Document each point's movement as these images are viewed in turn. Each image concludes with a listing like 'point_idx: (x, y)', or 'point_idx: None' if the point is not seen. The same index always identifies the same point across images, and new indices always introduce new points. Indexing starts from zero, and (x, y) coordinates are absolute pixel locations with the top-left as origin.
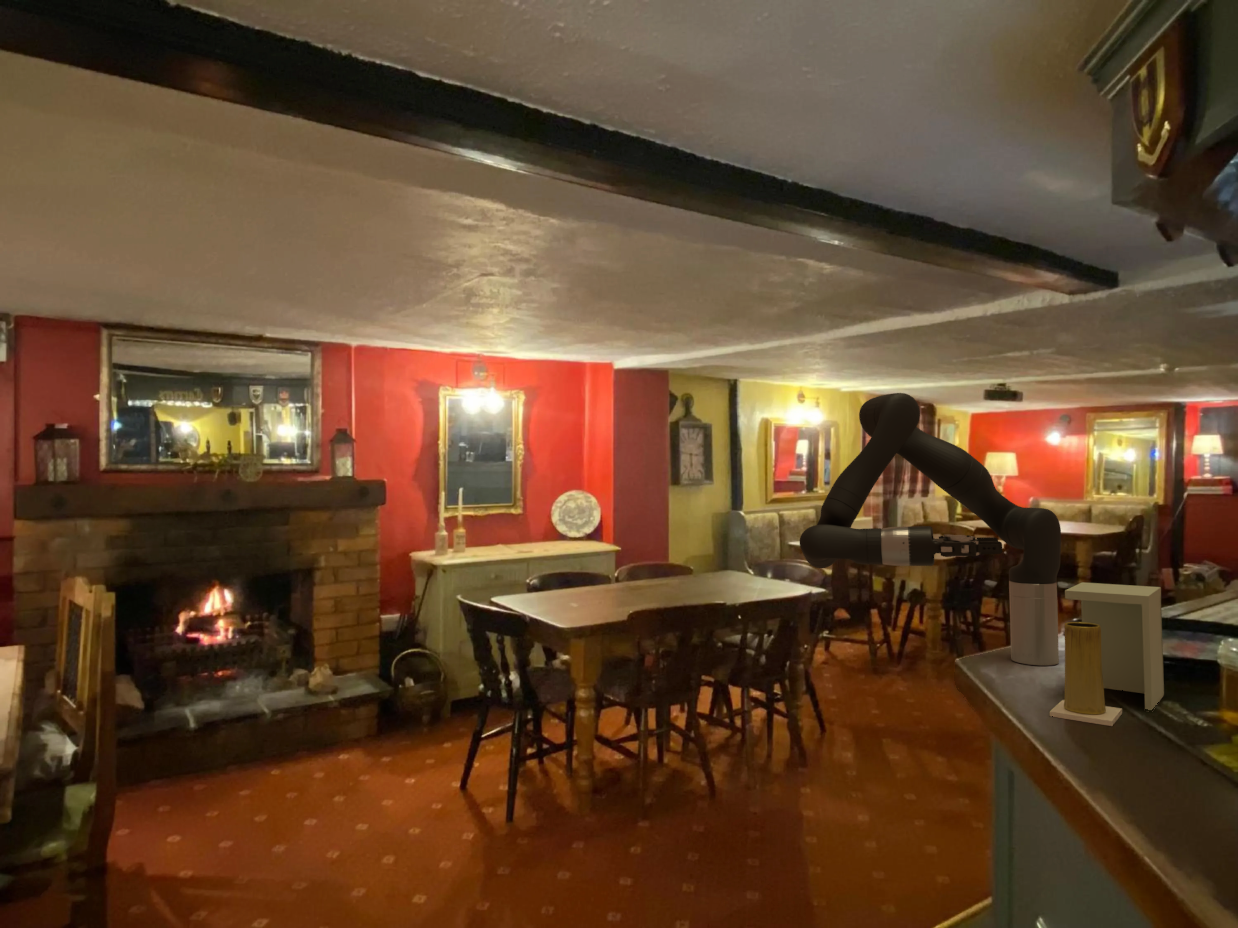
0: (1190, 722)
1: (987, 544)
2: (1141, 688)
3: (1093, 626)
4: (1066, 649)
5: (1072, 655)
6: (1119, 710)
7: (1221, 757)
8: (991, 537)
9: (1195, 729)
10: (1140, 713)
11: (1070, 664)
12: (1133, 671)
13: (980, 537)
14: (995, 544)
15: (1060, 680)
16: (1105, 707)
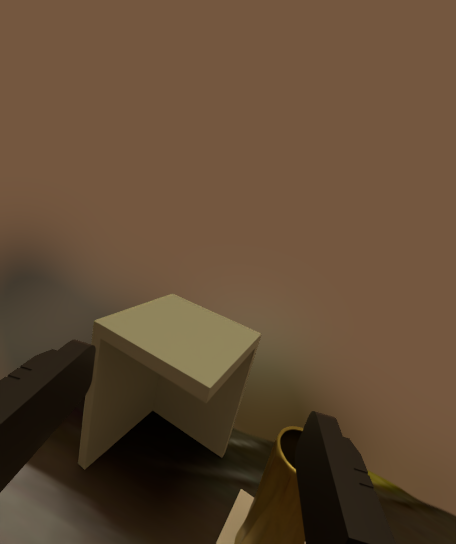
0: (258, 437)
1: (378, 505)
2: (142, 415)
3: (285, 432)
4: (302, 519)
5: None
6: (251, 497)
7: (372, 476)
8: (68, 355)
9: None
10: (234, 469)
11: (304, 535)
12: (140, 404)
13: (5, 395)
14: (361, 457)
15: (38, 493)
16: (239, 510)
